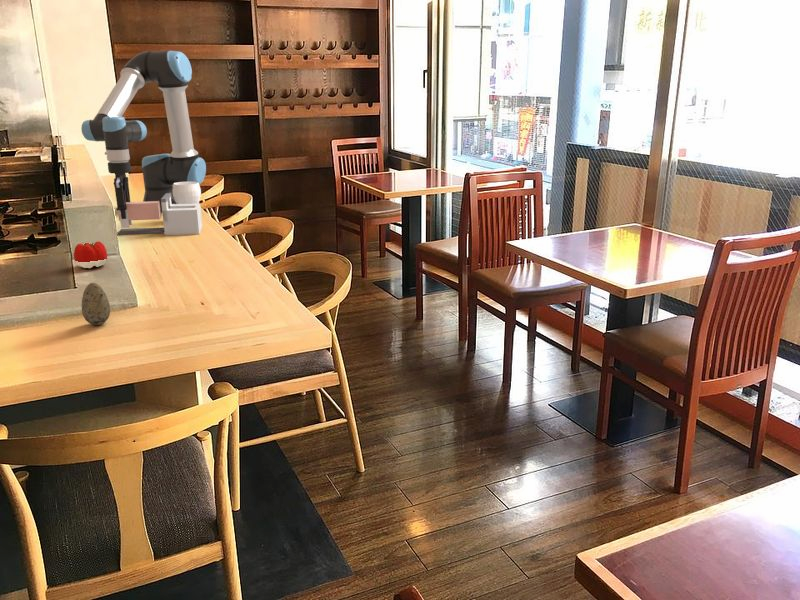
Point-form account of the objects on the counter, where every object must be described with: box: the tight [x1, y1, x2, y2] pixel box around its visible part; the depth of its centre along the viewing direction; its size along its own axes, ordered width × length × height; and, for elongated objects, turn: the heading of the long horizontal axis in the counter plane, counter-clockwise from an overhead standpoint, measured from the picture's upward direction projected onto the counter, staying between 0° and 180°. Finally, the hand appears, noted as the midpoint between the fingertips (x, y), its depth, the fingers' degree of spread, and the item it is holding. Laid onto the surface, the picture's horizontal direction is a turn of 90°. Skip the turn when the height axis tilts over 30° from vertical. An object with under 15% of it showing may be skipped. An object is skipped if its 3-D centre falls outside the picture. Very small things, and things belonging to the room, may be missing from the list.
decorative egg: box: [81, 282, 111, 326], centre depth 155 cm, size 6×6×10 cm
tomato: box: [73, 241, 108, 262], centre depth 202 cm, size 9×9×8 cm
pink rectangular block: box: [117, 201, 162, 222], centre depth 247 cm, size 4×14×6 cm, turn 101°
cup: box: [173, 182, 202, 204], centre depth 267 cm, size 11×11×15 cm
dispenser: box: [161, 193, 203, 236], centre depth 250 cm, size 13×12×13 cm
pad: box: [117, 226, 165, 236], centre depth 250 cm, size 8×16×1 cm, turn 101°
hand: (126, 225), depth 248 cm, fingers closed on pink rectangular block, 4 cm apart
